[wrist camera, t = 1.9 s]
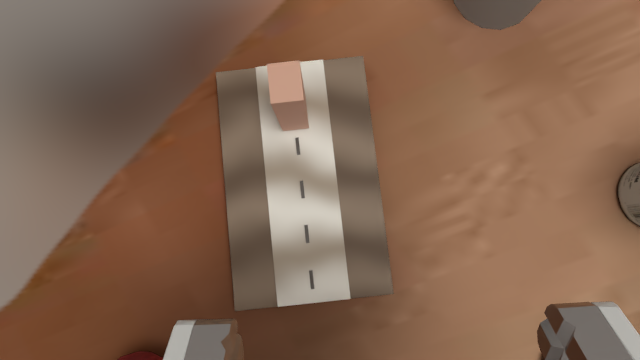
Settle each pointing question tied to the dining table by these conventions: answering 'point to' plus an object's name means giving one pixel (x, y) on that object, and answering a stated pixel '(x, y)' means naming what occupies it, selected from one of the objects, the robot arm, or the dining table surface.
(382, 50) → the dining table surface
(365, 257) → the board with dashed strip
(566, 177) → the dining table surface
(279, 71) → the stub
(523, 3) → the cup
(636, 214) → the spray can
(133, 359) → the onion
